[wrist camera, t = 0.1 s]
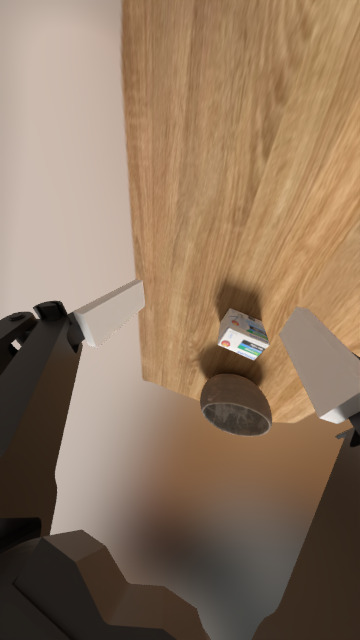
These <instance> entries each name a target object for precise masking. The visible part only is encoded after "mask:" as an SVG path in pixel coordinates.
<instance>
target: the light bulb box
mask: <svg viewBox="0 0 360 640" xmlns="http://www.w3.org/2000/svg"><path fill="white" fill-rule="evenodd" d="M218 345H220V346H222V347H224V348H227V349H229V350H231V351H234V352H236V353H238V354H240V355H243V356H245V357H247V358H250V359H252V360H254V359H256V358H257V357H258V356H259V355H260V354H261V353H262V352H263V351H264V350H265V349H266V348H267V347H268V346H269V345H270V344H269V341H268V338H267V335H266V332H265V329H264V326H263V323H262V321H260V320H258V319H255V318H253V317H251V316H248V315H246V314H243V313H241V312H239V311H236V310H234V309H232V308H229V310H228V311H227V313H226V315H225V316H224V318H223V319H222V321H221V322H220V328H219V336H218Z"/></svg>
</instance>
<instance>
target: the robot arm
mask: <svg viewBox="0 0 360 640" xmlns="http://www.w3.org/2000/svg"><path fill="white" fill-rule="evenodd" d="M144 306H145V299H144V289H143V281H141V280H134V281H132V282H130V283H128V284H126V285H124V286H122V287H120V288H118V289H116V290H114V291H112V292H110V293H108V294H106V295H105V296H103V297H101V298H99V299H97V300H95V301H93V302H91V303H89V304H87V305H85V306H83V307H81V308H79V309H77V310H75V311H73V312H72V313H70V314H67V312H66V310H65V308H64V306H63V304H62V302H60V301H49V302H44V303H41V304H38V305H36V306H34V307H33V309H34V310H35V312H36V313H37V315H38V317H39V318H40V319H36V318H35V316H34V315H33V313H31V312H18V313H13V314H12V315H9V316H7V317H5V318H3V319H1V320H0V640H211V639H210V637H209V636H208V634H207V633H206V632H205V630H204V629H203V627H202V624H201V621H200V618H199V614H198V611H197V609H196V608H195V607H193V606H192V605H191V604H189V603H188V602H186V601H184V600H183V599H182V598H180V597H179V596H177V595H176V594H175V593H173V592H172V591H170V590H169V589H167V588H166V587H164V586H153V585H140V584H139V585H138V584H130V583H128V582H127V581H126V579H125V578H124V576H123V574H122V573H121V571H120V570H119V568H118V566H117V564H116V563H115V561H114V559H113V558H112V556H111V554H110V552H109V551H108V549H107V547H106V546H105V545H103V544H102V543H100V542H99V541H98V540H96V539H94V538H93V537H91V536H90V535H89V534H87V533H86V532H84V531H83V530H78V531H72V532H66V533H61V534H55V535H50V530H51V524H52V520H53V515H54V510H55V504H56V498H57V485H56V481H55V468H56V463H57V459H58V455H59V450H60V446H61V441H62V437H63V432H64V427H65V423H66V419H67V414H68V410H69V405H70V400H71V396H72V391H73V387H74V383H75V378H76V373H77V369H78V365H79V360H80V356H81V351H82V346H83V345H82V341H83V340H84V339H86V342H87V344H88V345H89V346H92V347H96V348H98V347H99V346H100V345H101V344H102V343H103V342H104V341H105V340H107V339H108V338H109V337H110V336H111V335H112V334H113V333H115V332H116V331H117V330H118V329H119V328H120V327H121V326H123V325H124V324H125V323H126V322H127V321H128V320H129V319H131V318H132V317H133V316H134V315H135V314H136V313H137V312H139V311H140V310H141V309H142V308H143V307H144ZM279 335H280V337H281V339H282V342H283V344H284V346H285V348H286V350H287V352H288V354H289V356H290V358H291V360H292V362H293V365H294V367H295V369H296V371H297V373H298V375H299V377H300V379H301V381H302V383H303V386H304V388H305V390H306V392H307V394H308V396H309V398H310V400H311V402H312V404H313V406H314V409H315V411H316V413H317V415H318V417H319V418H321V419H324V420H327V421H330V422H333V423H336V424H339V423H341V422H343V421H345V420H346V419H349V420H350V422H351V423H352V425H353V426H354V427H353V428H351V429H349V430H346V431H344V432H342V433H340V434H338V435H337V436H336V438H338V439H340V438H342V437H343V438H345V439H344V441H343V444H342V446H341V449H340V451H339V454H338V457H337V459H336V462H335V464H334V467H333V469H332V472H331V474H330V477H329V480H328V482H327V485H326V487H325V490H324V492H323V495H322V497H321V500H320V503H319V505H318V508H317V510H316V513H315V516H314V518H313V521H312V523H311V526H310V528H309V531H308V533H307V536H306V538H305V541H304V544H303V546H302V549H301V551H300V554H299V556H298V559H297V561H296V564H295V566H294V569H293V572H292V574H291V577H290V579H289V582H288V585H287V587H286V589H285V592H284V595H283V597H282V600H281V602H280V604H279V606H278V608H277V609H276V611H275V612H274V613H273V614H271V615H269V616H268V617H266V618H264V619H263V621H262V622H261V623H260V624H259V626H258V628H257V630H256V632H255V634H254V636H253V638H252V640H360V357H358V356H357V355H356V354H354V353H353V352H351V351H350V350H349V349H348V348H347V347H346V346H345V345H344V344H343V343H342V342H341V341H340V340H339V339H338V338H337V337H336V336H335V335H334V334H333V333H332V332H331V331H330V330H329V329H328V328H327V327H326V326H325V325H324V324H323V323H322V322H321V321H320V320H319V319H318V318H317V317H316V316H315V315H314V314H313V313H312V312H311V311H310V310H309V309H306V308H300V307H296V308H295V310H294V311H293V313H292V314H291V316H290V318H289V319H288V321H287V322H286V324H285V326H284V327H283V329H282V330H281V332H280V334H279ZM15 339H16V340H17V342H18V343H19V344H20V345H21V346H22V347H21V348H20V349H19V350H17V349H16V348H15V347H13V345H12V344H11V343H12V342H13V341H14V340H15Z"/></svg>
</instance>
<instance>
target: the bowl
mask: <svg viewBox="0 0 360 640" xmlns="http://www.w3.org/2000/svg"><path fill="white" fill-rule="evenodd" d="M200 404H201V410H202V413H203V415H204V417H205V418H206V419H207V420H208V421H209V422H210V423H212V424H213V425H214V426H216V427H217V428H219V429H221V430H223V431H226V432H228V433H231V434H234V435H240V436H260V435H263V434H265V433H267V432H268V431H269V430H270V428H271V426H272V415H271V410H270V406H269V403H268V401H267V399H266V397H265V396H264V394H263V393H262V391H261V390H260V389H259V388H258V386H256V385H255V384H254V383H253V382H252V381H250V380H248V379H247V378H245V377H242V376H239V375H235V374H218V375H215V376H213V377H211V378H210V379H209V380H208V381H207V382H206V383H205V385H204V387H203V389H202V392H201V398H200Z"/></svg>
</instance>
